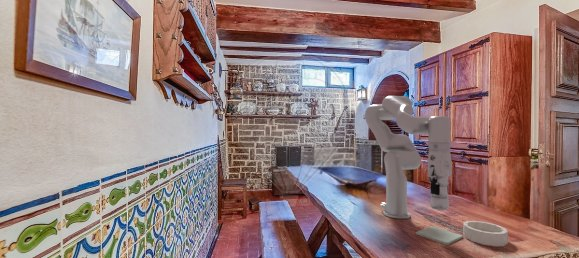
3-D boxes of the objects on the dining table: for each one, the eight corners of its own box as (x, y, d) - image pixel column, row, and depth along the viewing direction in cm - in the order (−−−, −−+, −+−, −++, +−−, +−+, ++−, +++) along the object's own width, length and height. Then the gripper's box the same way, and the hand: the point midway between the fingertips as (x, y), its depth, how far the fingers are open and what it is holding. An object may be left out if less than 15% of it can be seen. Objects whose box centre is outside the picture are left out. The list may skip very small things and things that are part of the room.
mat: (415, 234, 106) (415, 232, 106) (431, 228, 113) (431, 226, 113) (447, 245, 96) (447, 242, 96) (462, 237, 103) (462, 235, 103)
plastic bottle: (426, 207, 107) (426, 157, 107) (442, 206, 108) (442, 157, 108) (436, 212, 101) (436, 159, 101) (453, 211, 101) (453, 159, 102)
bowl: (457, 236, 104) (457, 225, 104) (472, 229, 111) (472, 218, 111) (498, 249, 93) (498, 236, 93) (512, 240, 100) (512, 228, 100)
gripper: (437, 148, 97) (437, 198, 97) (459, 147, 106) (460, 192, 106) (417, 147, 103) (417, 194, 103) (440, 146, 113) (440, 189, 112)
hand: (439, 192), depth 104 cm, fingers closed on plastic bottle, 5 cm apart
